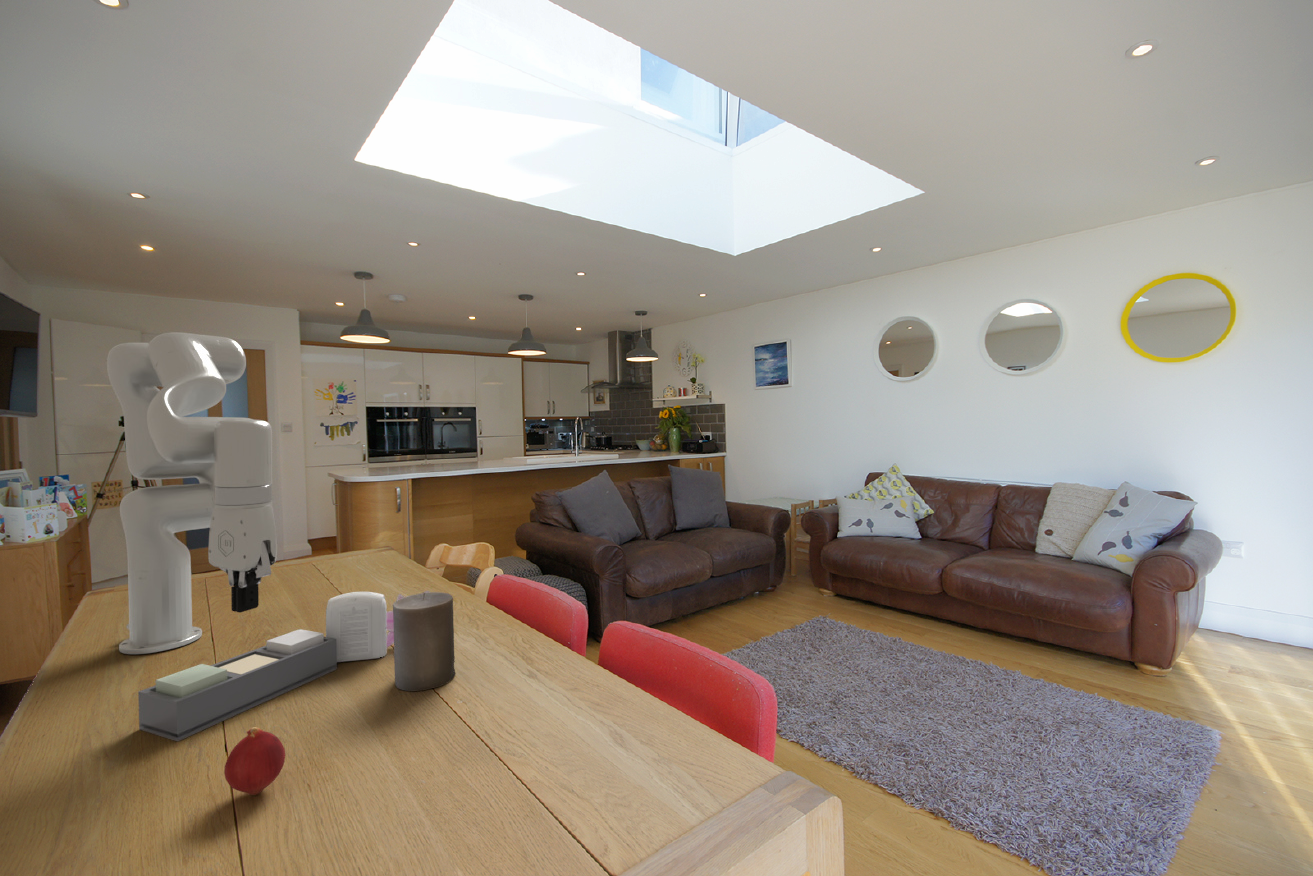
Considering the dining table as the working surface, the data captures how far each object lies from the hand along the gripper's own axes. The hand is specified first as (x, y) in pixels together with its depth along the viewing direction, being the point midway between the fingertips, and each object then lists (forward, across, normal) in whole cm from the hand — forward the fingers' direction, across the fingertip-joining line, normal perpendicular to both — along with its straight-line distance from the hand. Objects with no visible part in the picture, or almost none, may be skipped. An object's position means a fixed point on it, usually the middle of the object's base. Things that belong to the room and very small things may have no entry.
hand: (245, 609), depth 92 cm
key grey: (+11, +1, +8) cm, 14 cm away
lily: (+14, +8, +26) cm, 31 cm away
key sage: (+11, +1, -8) cm, 14 cm away
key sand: (+13, +1, 0) cm, 13 cm away
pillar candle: (+14, +23, +15) cm, 31 cm away
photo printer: (+14, +5, +17) cm, 23 cm away
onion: (+13, +27, -16) cm, 34 cm away
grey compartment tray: (+14, +1, 0) cm, 14 cm away
